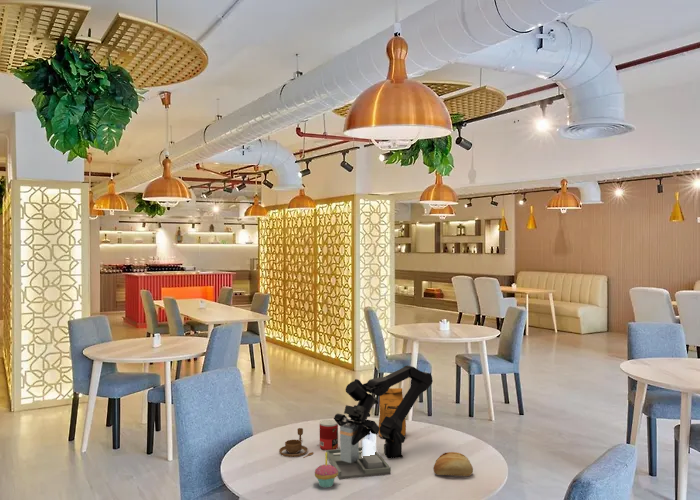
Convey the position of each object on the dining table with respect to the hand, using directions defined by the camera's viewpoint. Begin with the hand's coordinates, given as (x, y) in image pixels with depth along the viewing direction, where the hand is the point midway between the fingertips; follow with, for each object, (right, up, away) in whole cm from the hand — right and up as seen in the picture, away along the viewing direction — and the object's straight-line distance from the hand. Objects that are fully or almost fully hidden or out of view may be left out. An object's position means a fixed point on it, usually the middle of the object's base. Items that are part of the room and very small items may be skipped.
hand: (347, 443), depth 227 cm
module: (+1, -7, +1) cm, 7 cm away
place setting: (-21, -12, +26) cm, 35 cm away
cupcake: (-8, -12, -11) cm, 18 cm away
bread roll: (+40, -12, -1) cm, 42 cm away
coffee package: (+20, -11, +43) cm, 49 cm away
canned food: (-8, -11, +28) cm, 32 cm away
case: (+4, -11, +9) cm, 15 cm away
